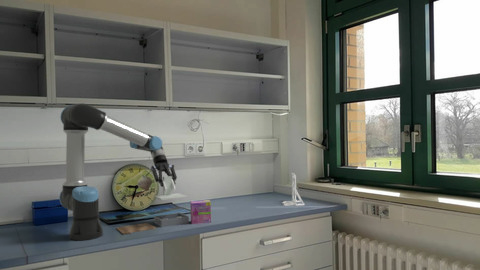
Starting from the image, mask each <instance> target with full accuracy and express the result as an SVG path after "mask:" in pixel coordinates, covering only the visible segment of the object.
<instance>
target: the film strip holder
mask: <svg viewBox="0 0 480 270" xmlns="http://www.w3.org/2000/svg"><path fill="white" fill-rule="evenodd" d="M297 198H298V200H297ZM282 205H283V206H286V207H289V206H291V207H292V206H293V207H294V206H295V207H297V206H299V207H301V206H305V205H306V203H304V201H303V199H302V198H301V196H300V194H299V192H298V189H297V175H296V174H295V172H291V200H289V201H288V200H286V201H285V200H284V201H282Z"/></svg>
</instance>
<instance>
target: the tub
mask: <svg viewBox="0 0 480 270" xmlns="http://www.w3.org/2000/svg"><path fill="white" fill-rule="evenodd" d="M178 216H182V217H180V218H177V217H178ZM164 218H168V219H166V220H163V219H164ZM189 221H190V220H189V215H186V214H184V213H181V212H174V213H167V214H160V215H154V216H153V223H154V224H156V226H157V225H158V226H159V227H161V228H166V227H172V226H179V225H184V224H185V225H186V224H189Z"/></svg>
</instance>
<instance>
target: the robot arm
mask: <svg viewBox="0 0 480 270" xmlns="http://www.w3.org/2000/svg"><path fill="white" fill-rule="evenodd" d="M60 121H61V123H62V125H63V126H62V128H63V132H64V133H65V134H66V144H65V145H66V147H65V148H66V150H65V151H66V153H65V154H66V155H65V158H66V161H65V165H66V166H65V182H64V183H63V184H62V190H61V192H60V194H59V196H58V198H59V199H58V200H59V203H60V204H61V207H63V208H64V209H66V210H68V211H71V212H72V223H71V227H70V230H69V233H68V236H69V239H70V240H72V241H87V240H88V241H89V240H92V239H97V238H99V237H102V236H103V235H104V229H103V226H102V223H101V220H100V215H99V214H100V210H99V209H100V208H99V207H100V205H99V204H100V203H99V199H100V198H99V196H100V195H99V190H98V189H97V188H96V187H95V186H89V185H88V183H87V182H86V181H85V153H86V152H85V150H86V149H85V147H86V145H85V142H86V140H85V139H86V137H85V136H86V133H88V132H89V128H90V129H94V130H96V131H99V130H102V131H105V132H107V133H109V134H111V135H114V136H116V137H118V138H121V139H122V140H123V139H124V140H125V141H129V147H130V148H132V149H134V150H138V151H139V150H140V151H145V152H150V155H151V157H152V158H151V159H152V162H153V164H154V165H151V166H150V171H151V172H152V174H153V177H154V180H155V182H156V183H158V184H159V185H160V187H161V188H162V191H163V190H164V192H166V190H167V188H166V185H165V182H164V180H163V172H164V174H166V175H167V176H172V192H176V189H177V188H176V181H177V173H176V171H175V164H172V165H170V163H169V161H168V158H167V156H166V154H165V151H164V147H163V140H162V139H161V137H159V136H156V135H151V134H148V133H146V132H144V131H142V130H140V129H138V128H135V127H132V126H131V125H129V124H127V123H124V122H122V121H120V120H118V119H116V118H113V117H111V116H108V115H107V113H106V112H105V111H103V110H101V109H98V108H96V107H94V106H92V105H90V104H88V103H76V104H70V105H67V106H66V107H65V108H64V109H62V110H61V113H60ZM157 171H158V172H157Z"/></svg>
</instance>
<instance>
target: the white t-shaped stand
mask: <svg viewBox="0 0 480 270" xmlns="http://www.w3.org/2000/svg"><path fill="white" fill-rule="evenodd" d="M162 180H164V182H165V185H166V188H167V190H166V192H164V190H163V189H162V194H157V195H153V197H154V198H155V199H158V200H160V201H166V200H177V199H186V198H188V195H185V194H183V193H179V192H178V193H173V189H172V176H168V175H167V176H162Z"/></svg>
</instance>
